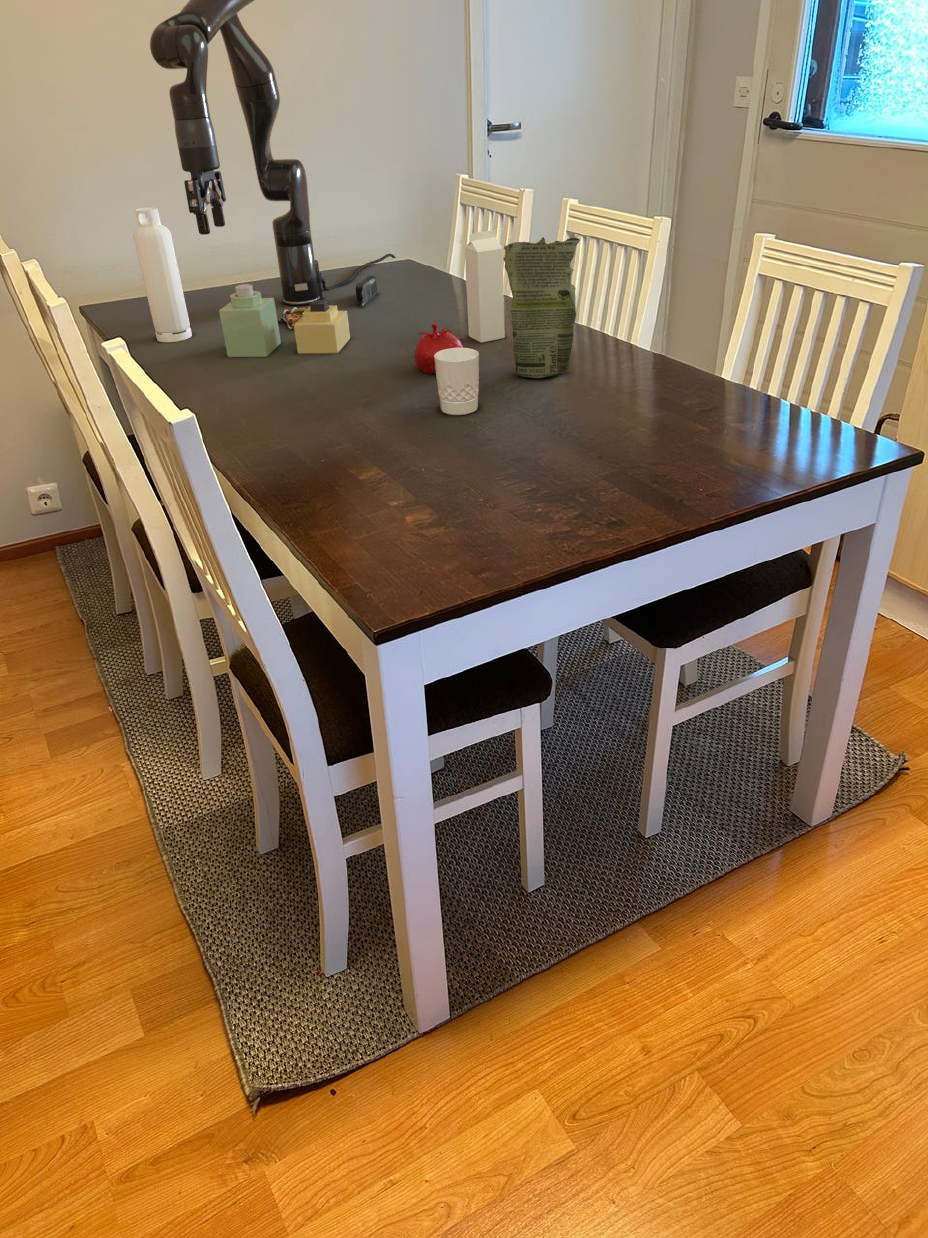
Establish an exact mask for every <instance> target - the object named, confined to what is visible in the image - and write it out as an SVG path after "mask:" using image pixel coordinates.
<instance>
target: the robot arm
mask: <svg viewBox="0 0 928 1238" xmlns="http://www.w3.org/2000/svg"><path fill="white" fill-rule="evenodd" d="M255 1H256V0H189V1H187V3H186V4H185V5H184V6H183V7H182V9H181V10H180V11H179V12H178V13H176V14H174V15H172V16H170V17H169V18H167V19H165V20H164V21H162V22H160V23H158V25H157V26H156V27H155V28H154V29H153V31H152V33H151V35H150V40H149V50H150V54H151V56H152V59H153V60H154V61H155V63H156V64H157V65H158V66H160V67H161V68H163V69H165V70H183V69H184V70H185V69H186V75H185V79H184V81H182V82H179V83H176V84H173V85H172V86H171V87H169V91H168V92H169V93H168V95H169V101H170V105H171V112H172V116H173V122H174V133H175V139H176V144H177V149H178V154H179V159H180V165H181V169H182V170H183V171H184V172H186V173H190V179H185V180H184V189H185V195H186V200H187V201H186V202H187V206H188V207H187V208H188V211H189V213H190V214H193V215H194V216H195V220H196V224H197V230H198V233H199V235H210V234H211V227H210V223H209V216H208V205H210V207H211V214H212V215H211V216H212V220H213V221H212V222H213V225H214V227H216V228H221V227H222V228H223V227H225V226H226V219H225V214H224V209H223V207H224V203H226V202H227V197H226V192H225V187H224V180H223V176H222V173H221V171H220V170H218V169H220V167H221V163H220V157H219V151H218V146H217V139H216V134H215V128H214V125H213V123H212V120H211V113H210V108H209V107H210V106H209V102H208V96H207V85H208V84H207V83H208V82H207V80H208V64H209V47H208V45H209V44H210V42H212V40H213V39H214V38H215V36H216V35H217V33H218V32H219V31H220V34H221V36H222V40H223V44H224V47H225V50H226V54H227V58H228V62H229V66H230V70H231V73H232V78H233V82H234V86H235V90H236V93H237V98H238V100H239V104H240V107H241V110H242V114H243V118H244V122H245V125H246V128H247V133H248V137H249V140H250V145H251V152H252V157H253V162H254V166H255V172H256V177H257V181H258V185H259V188H260V192H261V194H262V196H263V197H264V199H265V200H266V201H268V202H289V210H288V211H286V213H284V214H282V215H279V216H278V217H275V218H274V219H272V223H271V224H272V231H273V238H274V245H275V251H276V258H277V263H278V271H279V277H280V283H281V291H282V298H283V303H284V304H285V305H288V306H305V305H310V303H312V302H313V301H314V300H324V296H323V290H325V291H329V290H334V289H336V288H337V289H338V288H340V287H342V286H344V285H346V284H348V283H351V282H352V281H353V280H354V278H355V277H356V276H357V275H358V274H359V272H360V271H362V270H363V269H365V268H368V267H369V266H373V265H374V264H377V263H378V264H379V263H380V262H382V261H384V260H385V259H387V258H389V257H390V258H392V259H396V256H395V255H394V254H393V253H387V254H384V255H383V256H382V257H380V258H378V259H375V260H372V261H369V262H366V263H364V264H363V265H360V266H359V267H358V268H357V269H356V270H355V271H354V272H353V273H352V275H351V276H350V277H349V278H347V279H345V280H343V281H341V282H339V283H338V284H336V285H333V286H330V287H328V286H326V280H325V278H324V277H323V276H322V272H320V266H319V260H317V259H315V252H314V251H315V250H314V245H313V237H312V230H311V210H310V204H309V191H308V177H307V173H306V172H307V171H306V169H305V167H304V164H303V163H302V161H300V160H299V159H295V158H285V159H283V158H282V159H281V158H280V159H274V157H273V154H272V148H271V136H272V131H273V129H274V125H275V122H276V119H277V117H278V114H279V113H278V112H279V108H280V103H281V96H280V90H279V87H278V82H277V78H276V74H275V70H274V67H273V65H272V63H271V62H270V60H269V58H268V57H267V55H266V54H265V53H264V52H263V50H262V49H261V48H260V47H259V45H257V44H256V42H255V41H254V39H252V37H251V36H250V34H248V32H247V31H246V29H245V28H244V26H243V24H242V21H241V20H240V17H239V15H238V13H239V12H241V11H242V10H243V9H244V8H246V7H247V6H249V5H250V4H252V3H253V2H255Z"/></svg>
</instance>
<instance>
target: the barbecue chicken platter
mask: <svg viewBox="0 0 928 1238" xmlns="http://www.w3.org/2000/svg"><path fill="white" fill-rule="evenodd" d="M306 309H307V307H304V306H302V307H299V308H298V307H296V306H294V307H293V308H291V309H286V308H284V309H283V312H282V314H281V317H282V318H279V319H278V321H279V322H280V324H282V323H283V322H286V324H287V328H289V330H291V329H293V330H294V324H295V323H296V322H297V321H299V320H300V319H301V318H302V317H303V315H302V313H303V312H304V311H305V310H306ZM279 322H278V323H279Z"/></svg>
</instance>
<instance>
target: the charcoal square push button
mask: <svg viewBox="0 0 928 1238" xmlns="http://www.w3.org/2000/svg"><path fill="white" fill-rule="evenodd" d="M329 306H330V305H329V300H328V299H320V300H314V301H313V302H312V303H310V304H309V307H310V310H311V312H326V311H327V310H328V309H329Z"/></svg>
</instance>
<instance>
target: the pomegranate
mask: <svg viewBox="0 0 928 1238" xmlns="http://www.w3.org/2000/svg"><path fill="white" fill-rule="evenodd" d="M431 328H432V332H428V331H420V333H418V335H422V334H424V335H423V336H421V337H420V339H419V342H417V344H416V347H415V350H414V354H413V358H414V361H415V364H416V366H417V368H418V369H419V370H420V371H422V372H423V373H425V374H429V375H436V368H435V359H434V355H435V354H436V353H437V352H439V351H441V350H445V349H450V348H464V347H463V344H462V341H460V339H459V338H458V337H457V336H456V335H454V334H455V331H453V330H451V329H450V328H447V327H446V328H445V327H444V328H442V329H441V330H440V331H438V323H432V324H431ZM452 333H453V334H452Z"/></svg>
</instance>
